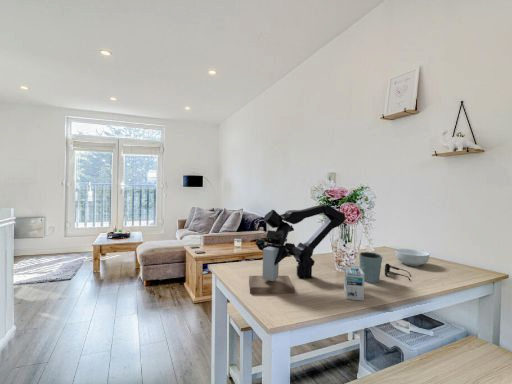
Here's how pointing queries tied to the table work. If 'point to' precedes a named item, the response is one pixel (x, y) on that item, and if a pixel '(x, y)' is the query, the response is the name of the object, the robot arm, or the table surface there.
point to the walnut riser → (270, 285)
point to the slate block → (270, 263)
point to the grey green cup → (370, 266)
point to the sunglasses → (387, 270)
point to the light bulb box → (354, 282)
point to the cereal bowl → (412, 256)
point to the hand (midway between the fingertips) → (269, 263)
